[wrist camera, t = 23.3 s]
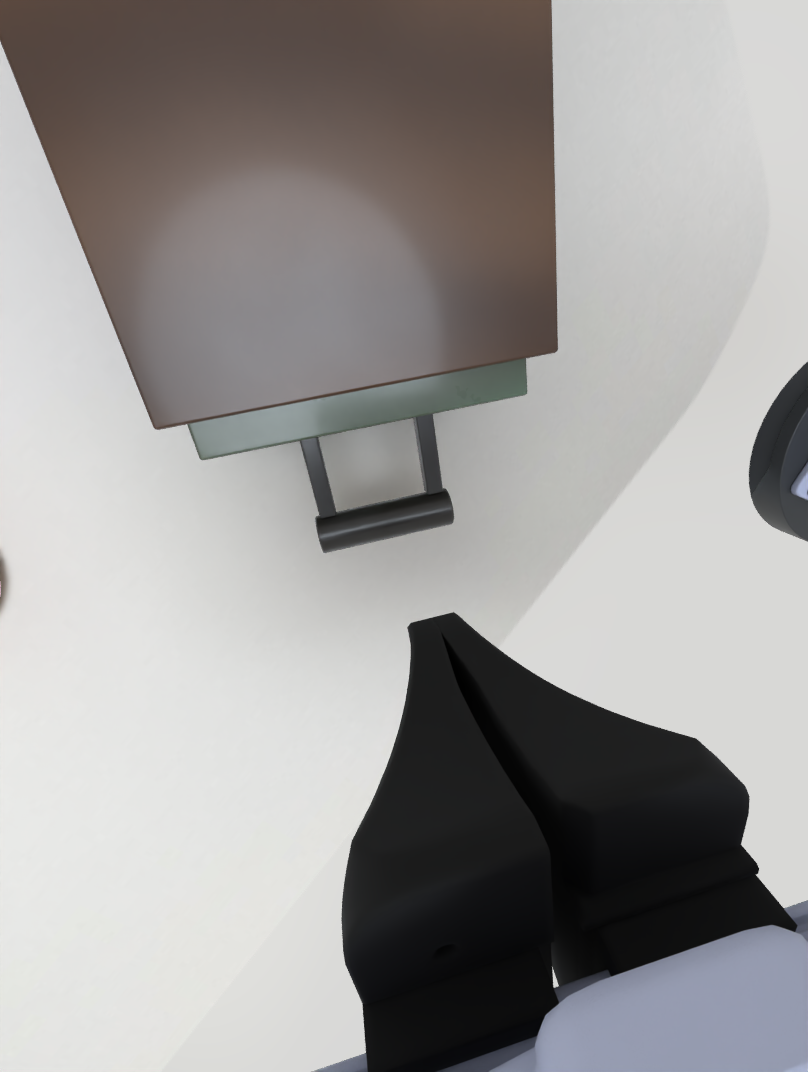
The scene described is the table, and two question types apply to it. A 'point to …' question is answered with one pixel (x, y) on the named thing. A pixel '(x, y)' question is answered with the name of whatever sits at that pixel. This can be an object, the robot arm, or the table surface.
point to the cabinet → (301, 187)
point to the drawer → (362, 412)
